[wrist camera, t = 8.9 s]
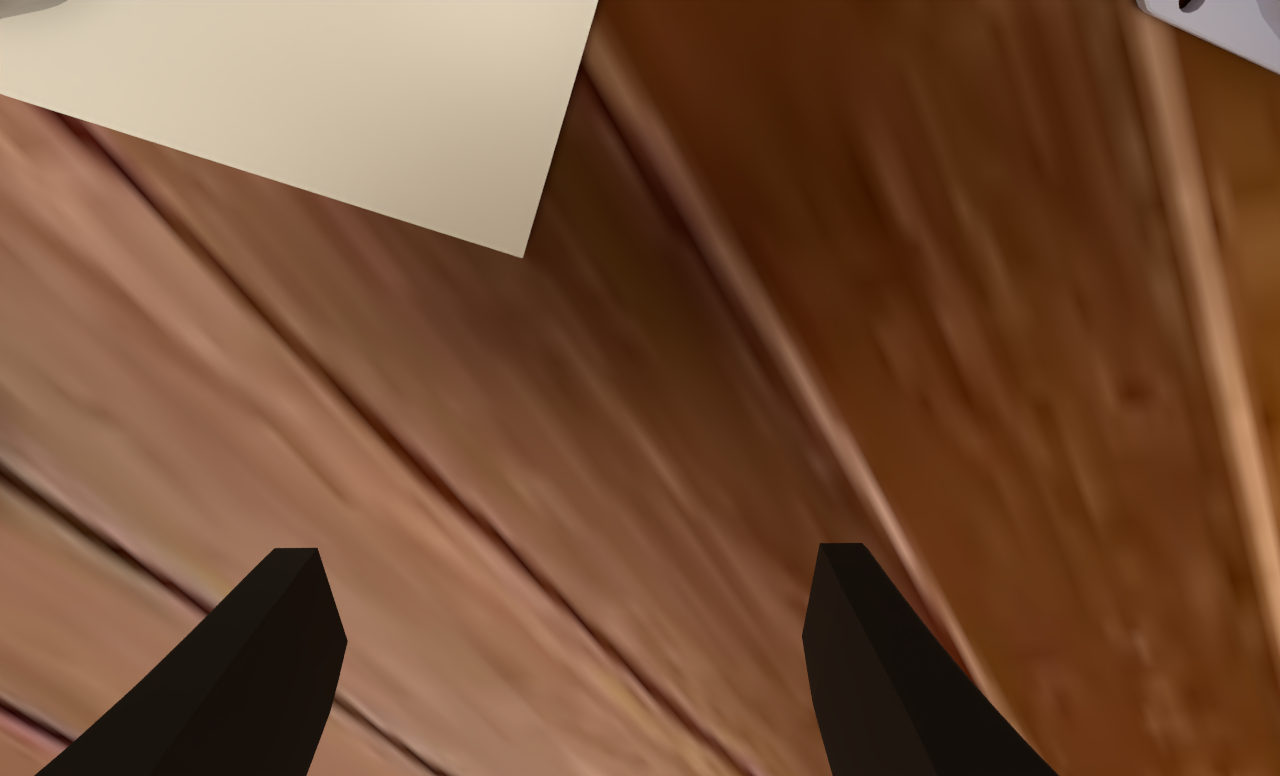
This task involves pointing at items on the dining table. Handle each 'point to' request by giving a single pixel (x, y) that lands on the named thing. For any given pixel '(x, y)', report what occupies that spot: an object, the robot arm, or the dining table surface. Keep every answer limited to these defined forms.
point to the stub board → (325, 93)
